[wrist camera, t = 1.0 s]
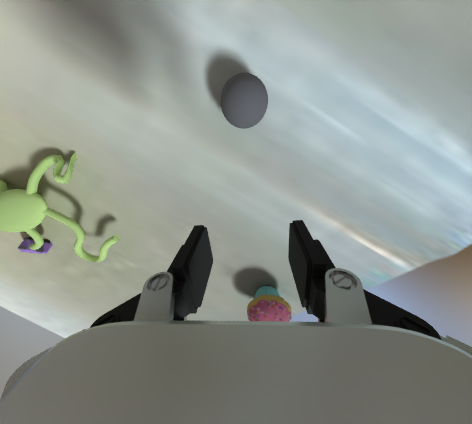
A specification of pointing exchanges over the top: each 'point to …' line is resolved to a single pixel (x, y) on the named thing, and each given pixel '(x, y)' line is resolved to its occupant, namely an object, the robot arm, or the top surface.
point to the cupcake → (268, 306)
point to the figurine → (41, 211)
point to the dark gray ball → (244, 100)
